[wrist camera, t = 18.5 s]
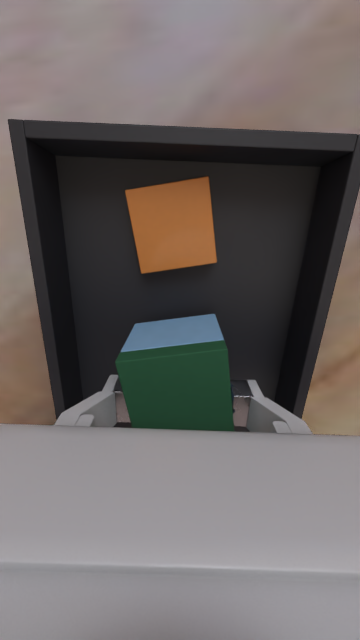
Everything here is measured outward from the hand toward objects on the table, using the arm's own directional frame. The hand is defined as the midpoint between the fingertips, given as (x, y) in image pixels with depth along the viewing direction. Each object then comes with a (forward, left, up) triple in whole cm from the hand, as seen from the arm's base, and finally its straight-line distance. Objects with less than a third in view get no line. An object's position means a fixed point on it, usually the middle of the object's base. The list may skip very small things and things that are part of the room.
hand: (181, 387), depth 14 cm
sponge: (0, 0, -2) cm, 2 cm away
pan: (0, -1, -3) cm, 3 cm away
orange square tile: (-1, +8, -2) cm, 9 cm away
